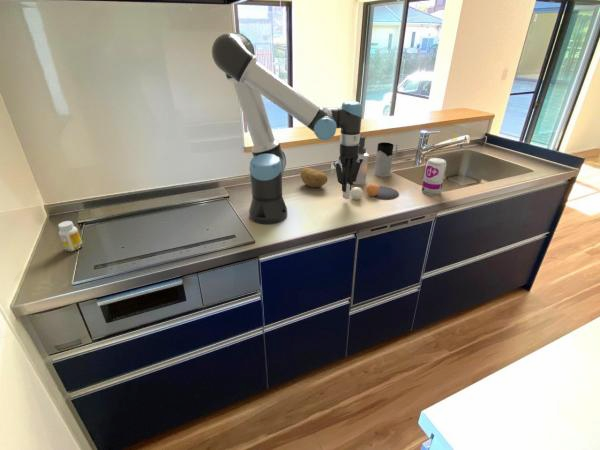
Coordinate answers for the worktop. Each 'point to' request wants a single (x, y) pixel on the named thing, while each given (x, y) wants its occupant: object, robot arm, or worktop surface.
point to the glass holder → (384, 159)
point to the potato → (313, 177)
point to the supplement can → (434, 176)
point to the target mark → (386, 193)
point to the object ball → (372, 189)
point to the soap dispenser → (363, 167)
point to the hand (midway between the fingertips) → (345, 197)
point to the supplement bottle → (69, 235)
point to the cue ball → (356, 193)
